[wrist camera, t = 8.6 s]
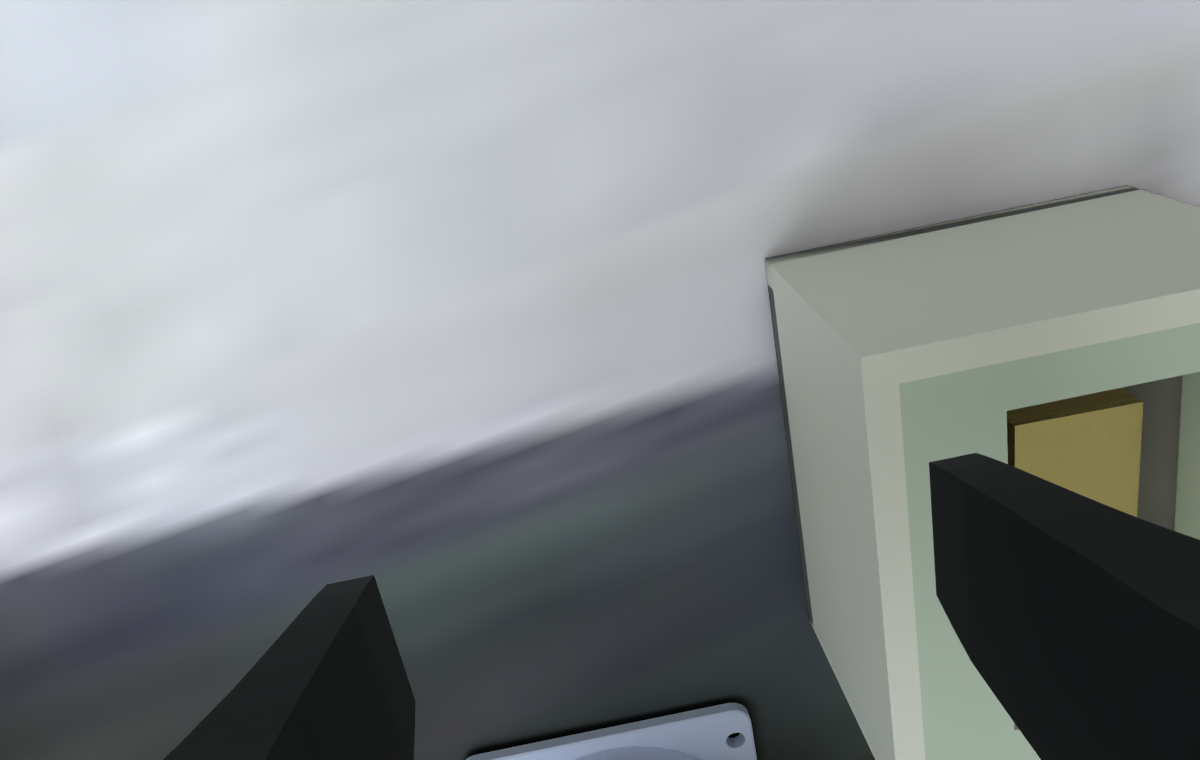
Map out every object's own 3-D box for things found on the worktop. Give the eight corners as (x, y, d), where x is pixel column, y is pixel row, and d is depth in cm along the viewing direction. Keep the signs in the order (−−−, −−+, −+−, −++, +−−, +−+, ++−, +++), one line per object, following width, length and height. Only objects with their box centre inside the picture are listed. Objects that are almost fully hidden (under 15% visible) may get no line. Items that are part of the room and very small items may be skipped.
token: (1011, 504, 24) (1131, 625, 19) (918, 522, 24) (1014, 647, 19) (1011, 318, 22) (1143, 401, 17) (909, 336, 22) (1014, 426, 17)
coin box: (1116, 555, 25) (1304, 728, 19) (808, 618, 25) (899, 811, 19) (1127, 185, 22) (1363, 255, 16) (764, 258, 21) (860, 357, 15)
